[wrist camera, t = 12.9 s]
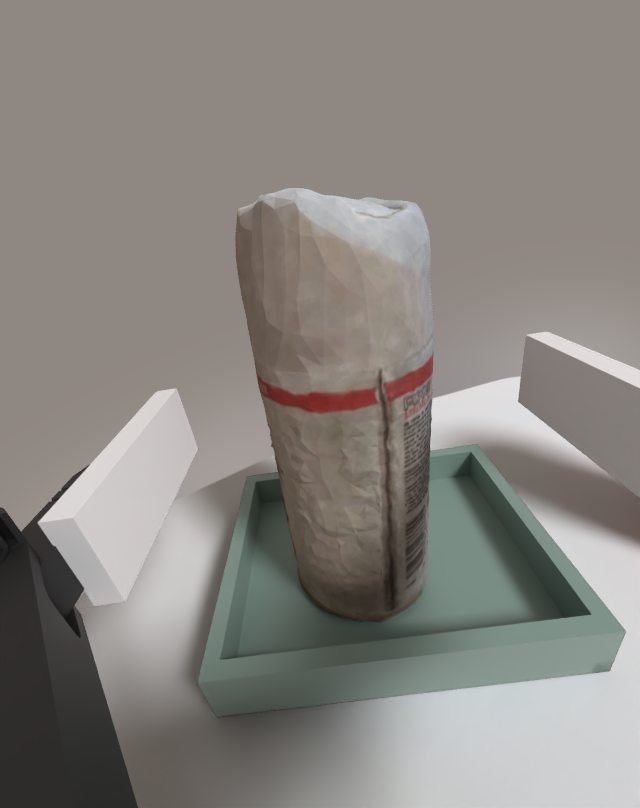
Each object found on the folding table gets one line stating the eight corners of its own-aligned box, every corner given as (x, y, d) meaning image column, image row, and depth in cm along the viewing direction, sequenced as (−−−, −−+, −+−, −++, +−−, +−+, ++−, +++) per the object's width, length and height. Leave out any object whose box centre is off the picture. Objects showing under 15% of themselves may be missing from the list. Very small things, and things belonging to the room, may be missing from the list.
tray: (216, 716, 16) (197, 682, 15) (255, 505, 29) (246, 476, 28) (609, 671, 16) (626, 631, 14) (475, 475, 28) (477, 444, 27)
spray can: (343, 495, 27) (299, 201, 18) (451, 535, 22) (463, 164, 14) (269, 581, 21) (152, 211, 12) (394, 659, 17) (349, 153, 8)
